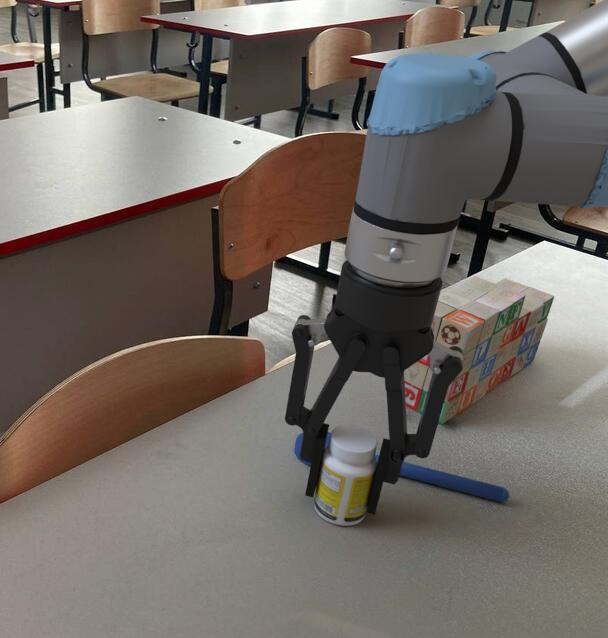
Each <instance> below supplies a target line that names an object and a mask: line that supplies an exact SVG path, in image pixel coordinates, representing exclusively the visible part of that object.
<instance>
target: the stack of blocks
mask: <svg viewBox="0 0 608 638" xmlns="http://www.w3.org/2000/svg"><path fill="white" fill-rule="evenodd" d="M554 300H555V296H554V295H553V294H551V293H547V292H545V291H542V290H539V289H537V288H534V287H532V286H527V285H525V284H522V283H520V282H517V281H515V280H511V279H508V278H506V277H505V278H503V279H501V280H500V281H498V282H496V283H494V282H491V281H489V280H487V279H484V278H482V277H479V276H476V275H474V276H472V277H470V278H468V279H466V280H464V281H462V282H461V283H460V284H457V285H455V286H454V287H452V288H450V289H449V290H446V291H444V292H442V293H440V295H439V299H438V303H437V307H436V310H435V314H434V318H433V322H432V326H431V327H432V331H433V334H434V340H435V341H437V342H438V343H440V344H442V345H444V346H446V347H448V348H450V347H452V346H457V347H460V348H461V349H462V351H463V367H462V371H461V372H460V373H459V375H458V376H457V377H456V378H455V379H454V381H453V382H452V383H451V384H450V385H449V387H448V390H447V394H446V397H445V401H444V404H443V408H442V412H441V415H440V419H439V422H438V425H443V424H445V423H446V422H448V421H449V420H450V419H452V418H454V417H455V416H456V415H459V414H461V413H462V412H463V411H465V410H466V409H468V408H469V407H471V406H472V405H473V404H475V403H477V402H478V401H480V400H481V399H482V398H484V397H485V396H486V394H489V392H491V391H492V390H493V389H495V388H496V387H497V386H498V385H500V384H502V383H503V382H504V381H505V380H507V379H509V378H512V377H513V376H514V375H516V374H517V373H518V372H520V371H522V370H523V369H524V368H526V367H527V366H528V365H530V364H532V363H533V362H534V360H535V359H536V356H537V355H536V354H537V352H538V350H539V346H540V343H541V340H542V338H543V335H544V332H545V330H546V326H547V324H548V320H549V319H548V316H549V314H550V312H551V308H552V305H553V303H554ZM430 359H431V358H430V357H429V356H428V355H426V356H425V357H423V358H422V359H420V360H419V361H417V362H416V363H415V364H413V365H412V366H410V367H409V368H407V369H406V370H405V371H404V382H405V401H406V408H407V407H408V408H409V409H411V410H413V411H415V412H418V413H419V414H422V411H423V407H424V403H425V399H426V396H427V392H428V388H429V385H430V381H431V377H432V373H433V371H431V369H430Z"/></svg>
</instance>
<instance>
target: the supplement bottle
mask: <svg viewBox="0 0 608 638" xmlns="http://www.w3.org/2000/svg"><path fill="white" fill-rule="evenodd" d="M330 433H331V436H330V440H329V445H328V446H326V448H325V449H324V451H323V454H322V460H321V465H320V470H319V475H318V481H317V486H316V489H315V493H314V497H313V505H314V506H313V507H314V511H316V513H317V514H318V516H319V517H321V518H322V519H323V520H325V522H328V523H330V524H333V525H337V526H343V527H345V526H347V527H349V526H355V525H357V524H359V523H361V522H362V521H363V520H364V519H365V517H366V514H367V513H366V512H367V506H368V502H369V498H370V494H371V489H372V485H373V481H374V477H375V473H376V469H377V460H376V457H375V455H376V452H377V447H378V439H377V436H376V435H375V434H374V433H373V432H372V431H370V430H369V429H367V428H366V427H363V426H362V425H356V424H352V423H351V424H350V423H349V424H348V423H347V424H346V423H345V424H340V425H337V426H335V427H334V428H333V429H332V431H331V432H330Z"/></svg>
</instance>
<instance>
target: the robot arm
mask: <svg viewBox="0 0 608 638" xmlns="http://www.w3.org/2000/svg"><path fill="white" fill-rule="evenodd" d="M366 126H367V128H366V129H367V130H366V136H365V141H364V147H363V155H362V159H361V166H360V172H359V178H358V184H357V189H356V195H355V199H354V205H353V206H352V210H351V216H350V222H349V226H348V231H347V232H348V233H347V236H346V237H347V238H346V242H345V247H344V253H343V255H344V257H345V259H346V260H345V261H343V263H342V265H341V268H340V269H341V270H340V273H339V280H338V285H337V291H336V295H335V299H334V300H335V301H334V305H333V308H332V309H331V310H330V311H329V312H328V314H327V316H326V317H324V318H313V319H311V317H310V316H309V315H307V314H301V315H299V316H298V318H297V319H296V321H295V324H294V326H293V328H292V331H291V337H292V342H293V347H294V349H295V356H294V362H293V367H292V368H293V369H292V373H291V380H290V385H289V391H288V397H287V404H286V409H285V416H284V421H285V422H286V424H287V425H288V426H292V427H294V426H297V427H298V428H300V430H302V433H304V435H303V440H302V446H301V451H300V458H301V460H303V461H306V462H310V463H311V466H309V468H310V469H309V473H308V478H307V484H306V488H305V493H304V497H305V496H306V497H309V498H312V499H314V497H315V491H316V486H317V481H318V475H319V470H320V465H321V460H322V454H323V451H324V448H325V443H326V438H327V433H328V432H329V427H330V424H329V423H325V420H326V419H327V417H328V416H329V414H330V412H331V410H332V409H333V406H334V404H335V403H336V401H337V400H338V397H339V396H340V394H341V393H342V390H343V388H344V387H345V385H346V383H347V382H348V380H349V379H350V377H351V375H352V373H353V372H356V373H369V374H372V375H374V376H377V377H378V378H383V379H384V389H385V392H386V406H387V407H386V408H387V422H388V438H385V437H383V438H382V442H381V446H380V451H379V454H378V455H379V458H378V462H377V469H376V473H375V477H374V481H373V485H372V489H371V494H370V498H369V502H368V506H367V511H366V514H368V515H373V516H376V512H377V509H378V504H379V501H380V498H381V493H382V489H383V485H384V483H386V484H390V485H393V486H395V485H396V484H397V482H399V479H400V471H401V467H402V463H403V462H405V458H407V457H410V456H415V457H417V458H419V459H426V458H428V457H429V456H430V452H431V450H432V446H433V443H434V439H435V435H436V432H437V429H438V425H439V423H438V422H439V419H440V415H441V412H442V408H443V404H444V401H445V397H446V394H447V390H448V387H449V385H450V384H451V383H452V382H453V381H454V379H455V378H456V377H457V376H458V375H459V373H460V372H461V371H462V367H463V351H462V349H461V348H460V347H457V346H452V347H450V348H448V347H446V346H444V345H442V344H440V343H438V342H437V341H435V340H434V334H433V331H432V327H431V326H432V322H433V318H434V314H435V310H436V307H437V303H438V299H439V295H440V294H441V291H442V287H443V279H442V276H443V275H445V273H446V272H447V268H448V264H449V260H450V257H451V254H452V249H453V246H454V241H455V237H456V233H457V229H458V226H459V224H460V221H461V217H462V216H461V215H462V212H463V208H464V205H465V203H466V201H467V200H475V201H476V200H477V201H486V202H487V201H488V202H503V203H505V202H506V203H520V204H521V203H523V204H536V205H551V206H552V205H553V206H564V207H565V206H566V207H580V209H590V208H608V0H601V1H599V2H598V3H595V4H594V5H592V6H589V7H588V8H586V9H585V10H582V11H580V12H579V13H578V14H575V15H574V16H572V17H570V18H568V19H566V20H565V21H563V22H561V23H559V24H558V25H556V26H554V27H552V28H550V29H548V30H546V31H545V32H543V33H540V34H539V35H537V36H535V37H533V38H531V39H529V40H526V41H525V42H524V43H521V44H520V45H518V46H516V47H514V48H512V49H511V50H509V51H504V50H498V51H497V50H487V51H480V52H476V53H474V54H472V55H470V56H467V57H465V56H461V55H449V54H444V53H431V52H430V53H429V52H426V53H423V52H422V53H406V54H402V55H399V56H396V57H394V58H392V59H391V60H389V61H388V62H387V63H386V64H385V65H384V67H383V68H382V69H381V72H380V75H379V79H378V83H377V85H376V90H375V93H374V97H373V102H372V106H371V110H370V114H369V116H368V118H367V121H366ZM323 335H326V336H327V338H328V339H329V341H330V343H331V345H332V346H333V348H334V350H335V352H336V354H337V355H338V358H337V360H336V361H335V364H334V366H333V368H332V370H331V372H330V373H329V375H328V377H327V379H326V381H325V382H324V384H323V387H322V388H321V390H320V392H319V394H318V396H317V398H316V400H315V402H314V404H313V405H312V406H311V408H310V409H309V408H307V407H306V406H305V402H306V395H307V390H308V384H309V378H310V373H311V368H312V362H313V357H314V351H315V347H316V346H318V345H319V344H320V342H321V340H322V336H323ZM426 355H428V356H429V357H430V358H431V359H430V369H431V371H433V373H432V377H431V381H430V385H429V388H428V392H427V396H426V399H425V403H424V407H423V411H422V414H421V413H420V414H421V415H420V418H419V422H418V425H417V428H416V429H417V430H416V433H408V425H407V423H408V422H407V406H406V401H405V382H404V371H405V370H406V369H407V368H409V367H410V366H412V365H413V364H415V363H416V362H417V361H419V360H420V359H422V358H423V357H425V356H426ZM301 460H300V461H301Z"/></svg>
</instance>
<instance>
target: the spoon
mask: <svg viewBox="0 0 608 638" xmlns="http://www.w3.org/2000/svg"><path fill="white" fill-rule="evenodd" d="M331 433H332V432H329V431H328V433H327V438H326V443H325V448H326V446H328V445H329V440H330V436H331ZM303 435H304V433H303V432H300V433H299V434H298V435H297V437H296V438H295V442H294V447H293V449H294V450H293V451H294V453H295V456H296V457H297V458H298V459H299V460H300V461H301V462H302V463H303V464H305V465H307V466H309V467H311V463H310V462H306V461H303V460H301V458H300V451H301V446H302V440H303ZM325 448H324V449H325ZM375 457H376V460H377V462H378V458H379V454H375ZM399 477H404V478H407V479H411V480H416V481H419V482H422V483H427V484H431V485H434V486H439V487H442V488H446V489H450V490H453V491H459V492H461V493H465V494H469V495H472V496H476V497H479V498H484V499H487V500H491V501H496V502H499V503H505V502H506V501H508V500H509V498H510V492H509V490H507V488H505V487H503V486H499V485H497V484H492V483H488V482H484V481H480V480H476V479H472V478H469V477H464V476H461V475H456V474H453V473H448V472H444V471H441V470H437V469H433V468H430V467H426V466H422V465H418V464H414V463H411V462H406V461H404V462H403V463H402V467H401V471H400V475H399Z"/></svg>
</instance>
